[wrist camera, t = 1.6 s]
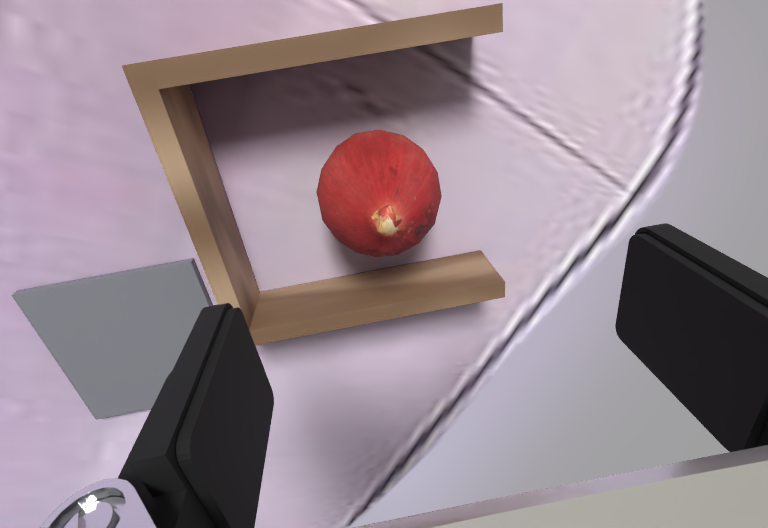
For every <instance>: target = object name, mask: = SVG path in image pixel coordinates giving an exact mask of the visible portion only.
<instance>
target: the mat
mask: <svg viewBox="0 0 768 528" xmlns="http://www.w3.org/2000/svg"><path fill="white" fill-rule="evenodd" d="M12 297H13V298H14V300H15V301H16V303H17V304H18V306H19V307H20V308H21V310H22V311H23V313H24V314H25V316H26V317H27V319H28V320H29V322H30V323H31V325H32V326H33V328H34V329H35V331H36V332H37V334H38V335H39V336H40V338H41V339H42V341H43V342H44V344H45V345H46V347H47V348H48V350H49V351H50V353H51V354H52V356H53V357H54V359H55V360H56V362H57V363H58V364H59V366H60V367H61V369H62V370H63V372H64V373H65V375H66V376H67V378H68V379H69V381H70V382H71V384H72V385H73V387H74V388H75V390H76V391H77V392H78V394H79V395H80V397H81V398H82V400H83V401H84V403H85V404H86V406H87V407H88V409H89V410H90V412H91V413H92V415H93V416H94V418H95V419H96V420H97V419H102V418H107V417H112V416H117V415H122V414H127V413H132V412H137V411H142V410H147V409H152V407H153V405H154V403H155V401H156V399H157V397H158V395H159V393H160V391H161V389H162V387H163V384H164V382H165V380H166V378H167V377H168V375H169V374H170V372H172V370H173V368H174V366H175V364H176V362H177V360H178V358H179V355H180V353H181V351H182V349H183V347H184V345H185V343H186V341H187V339H188V337H189V335H190V333H191V331H192V328H193V326H194V324H195V322H196V320H197V318H198V316H199V314H200V312H201V310H202V309H203V308H204V307H208V306H213V305H212V303H211V300H210V298H209V295H208V293H207V290H206V288H205V286H204V283H203V281H202V278H201V276H200V273H199V271H198V269H197V266H196V264H195V261H194V259H193V258H192V259H187V260H182V261H176V262H171V263H165V264H160V265H154V266H149V267H144V268H138V269H133V270H127V271H122V272H116V273H111V274H106V275H100V276H95V277H89V278H84V279H78V280H73V281H67V282H62V283H57V284H51V285H46V286H40V287H35V288H29V289H24V290H19V291H16V292H15V293H14V294H13V295H12Z"/></svg>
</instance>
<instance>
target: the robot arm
mask: <svg viewBox="0 0 768 528" xmlns="http://www.w3.org/2000/svg"><path fill="white" fill-rule="evenodd" d="M616 332H617V335H618V336H619V338H620V339H621V340H622V342H623V343H624V344H625V345H627V347H628V348H629V349H630V350H631V351H632V352H633V353H634V354H635V355H636V356H637V357H638V358H639V359H640V360H641V361H642V362H643V363H644V364H645V365H646V367H648V368H649V370H650V371H651V372H652V373H653V374H654V375H655V376H656V377H657V378H658V379H659V380H660V381H661V382H662V383H663V384H664V385H665V386H666V387H667V388H668V389H669V390H670V391H671V392H672V394H673V395H675V397H676V398H677V399H678V400H679V401H680V402H681V403H682V404H683V405H684V406H685V407H686V408H687V409H688V410H689V411H690V412H691V413H692V414H693V415H694V416H695V417H696V418H697V419H698V420H699V422H701V424H702V425H703V426H704V427H705V428H706V429H707V430H708V431H709V432H710V433H711V434H712V435H713V436H714V437H715V438H716V439H717V440H718V441H719V442H720V443H721V444H722V445H723V446H724V447H725V448H726V449H727V450H728V451H730V452H729V453H724V454H720V455H714V456H709V457H703V458H698V459H693V460H688V461H683V462H678V463H672V464H667V465H662V466H657V467H652V468H647V469H642V470H637V471H632V472H627V473H622V474H617V475H611V476H606V477H602V478H597V479H591V480H587V481H581V482H576V483H571V484H566V485H561V486H556V487H551V488H546V489H541V490H536V491H532V492H526V493H521V494H516V495H511V496H507V497H501V498H496V499H491V500H486V501H481V502H476V503H472V504H467V505H462V506H457V507H452V508H447V509H442V510H437V511H432V512H428V513H423V514H418V515H414V516H408V517H403V518H398V519H393V520H389V521H384V522H379V523H374V524H370V525H364V526H360V527H355V528H768V278H767V277H765V276H763V275H762V274H760V273H758V272H756V271H754V270H752V269H751V268H749V267H747V266H745V265H743V264H741V263H740V262H738V261H736V260H734V259H732V258H730V257H728V256H726V255H725V254H723V253H721V252H719V251H717V250H716V249H714V248H712V247H710V246H708V245H707V244H705V243H703V242H701V241H699V240H697V239H696V238H694V237H692V236H690V235H688V234H686V233H684V232H682V231H681V230H679V229H677V228H675V227H673V226H672V225H669V224H659V225H654V226H648V227H643V228H640V229H638V230H637V232H636V233H635V235H633V236H632V237H631V238H630V240H629V245H628V251H627V258H626V263H625V269H624V276H623V282H622V288H621V294H620V300H619V307H618V313H617V319H616ZM273 406H274V398H273V392H272V388H271V386H270V383H269V381H268V378H267V375H266V373H265V370H264V367H263V365H262V362H261V360H260V357H259V354H258V352H257V349H256V347H255V344H254V341H253V339H252V336H251V333H250V331H249V328H248V326H247V323H246V320H245V318H244V315H243V313H242V310H241V309H240V308H239V307H237V308H233V306H232V305H231V304H230V303H225V304H219V305H214V306H208V307H204V308H203V309H202V310H201V312H200V314H199V316H198V318H197V320H196V322H195V324H194V326H193V328H192V331H191V333H190V335H189V337H188V339H187V341H186V343H185V345H184V347H183V349H182V351H181V353H180V355H179V358H178V360H177V362H176V364H175V366H174V368H173V370H172V372H170V374H169V375H168V377H167V378H166V380H165V382H164V384H163V387H162V389H161V391H160V393H159V395H158V397H157V399H156V401H155V403H154V405H153V407H152V409H151V411H150V413H149V415H148V417H147V419H146V421H145V423H144V425H143V428H142V430H141V432H140V434H139V436H138V438H137V440H136V442H135V444H134V446H133V448H132V450H131V452H130V454H129V456H128V458H127V460H126V462H125V464H124V467H123V469H122V471H121V473H120V475H119V477H118V478H114V479H106V480H102V481H99V482H96V483H94V484H91V485H89V486H87V487H85V488H83V489H82V490H80V491H78V492H76V493H75V494H73V495H72V496H71V497H69V498H68V499H67V500H66V501H64V502H63V503H62V504H61V505H59V506H58V507H57V508H56V509H55V510H54V511H53V512H52V514H51V515H50V516H49V517H48V518H47V519H46V520H45V521H44V523H43V524H42V526H41V527H40V528H254V526H255V520H256V513H257V507H258V501H259V494H260V488H261V482H262V475H263V469H264V463H265V456H266V450H267V444H268V437H269V431H270V425H271V419H272V412H273Z"/></svg>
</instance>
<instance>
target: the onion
mask: <svg viewBox="0 0 768 528" xmlns="http://www.w3.org/2000/svg"><path fill="white" fill-rule="evenodd" d="M317 196H318V201H319V206H320V210H321V215H322V220H323V221H324V223H325V224H326V225H327V227H328V228H329V229H330V231H331V232H332V233H333V235H334V236H335V237H336V239H337V240H338V241H339V242H341V243H343V244H344V245H346V246H347V247H349V248H351V249H352V250H354V251H355V252H357V253H361V254H366V255H371V256H375V257H380V256H389V255H398V254H400V253H402V252H404V251H405V250H407V249H409V248H411V247H412V246H414V245H416V244H418V243H419V242H420V241H421V240H422V238H423V237H424V236H425V235H426V234H427V232H428V231H429V230H430V229H431V228H432V226H433V225H434V224H435V220H436V216H437V212H438V208H439V204H440V200H441V190H440V184H439V178H438V172H437V171H436V169H435V167H434V166H433V164H432V163H431V161H430V159H429V158H428V156H427V154H426V153H425V151H424V150H423V149H422V148H421V147H419V146H418V145H416V144H415V143H414V142H412V141H411V140H409V139H408V138H407V137H405V136H403V135H399V134H395V133H391V132H387V131H383V130H374V131H368V132H362V133H356V134H354V135H353V136H351V137H350V138H348V139H347V140H345V141H344V142H342V143H341V144H339V145H338V146H337V147H336V148H335V150H334V151H333V153H332V154H331V156H330V157H329V159H328V160H327V162H326V163H325V165H324V166H323V168H322V170H321V174H320V179H319V183H318V188H317Z"/></svg>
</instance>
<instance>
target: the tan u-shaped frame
mask: <svg viewBox="0 0 768 528" xmlns="http://www.w3.org/2000/svg"><path fill="white" fill-rule="evenodd" d="M498 32H503V16H502V3H501V4H495V5H489V6H482V7H476V8H470V9H464V10H458V11H452V12H446V13H440V14H434V15H428V16H422V17H415V18H409V19H403V20H397V21H391V22H385V23H379V24H373V25H367V26H361V27H354V28H348V29H342V30H336V31H330V32H324V33H318V34H312V35H306V36H300V37H293V38H287V39H281V40H275V41H269V42H263V43H257V44H251V45H245V46H239V47H232V48H226V49H220V50H214V51H208V52H202V53H196V54H190V55H184V56H178V57H171V58H165V59H159V60H153V61H147V62H141V63H135V64H129V65H123V66H122V68H123V70H124V73H125V75H126V78H127V80H128V83H129V85H130V88H131V90H132V92H133V95H134V97H135V100H136V102H137V105H138V107H139V110H140V112H141V115H142V117H143V120H144V122H145V125H146V127H147V130H148V132H149V135H150V137H151V140H152V142H153V145H154V147H155V150H156V152H157V154H158V157H159V159H160V162H161V164H162V167H163V169H164V172H165V174H166V177H167V179H168V182H169V184H170V187H171V189H172V192H173V194H174V197H175V199H176V202H177V204H178V207H179V209H180V212H181V214H182V216H183V219H184V221H185V224H186V226H187V229H188V231H189V234H190V236H191V239H192V241H193V244H194V246H195V249H196V251H197V254H198V256H199V259H200V261H201V264H202V266H203V269H204V271H205V274H206V276H207V278H208V281H209V283H210V286H211V288H212V291H213V293H214V296H215V298H216V301H217V303H218V305H219V304H225V303H230V304H231V305H232V306H233V308H237V307H239V308H240V309H241V310H242V313H243V315H244V318H245V320H246V323H247V326H248V328H249V331H250V333H251V336H252V339H253V341H254V344H255V345H260V344H265V343H270V342H276V341H281V340H286V339H291V338H296V337H301V336H307V335H312V334H317V333H322V332H327V331H332V330H337V329H343V328H348V327H353V326H358V325H363V324H368V323H374V322H379V321H384V320H389V319H394V318H399V317H405V316H410V315H415V314H420V313H425V312H430V311H435V310H441V309H446V308H451V307H456V306H461V305H466V304H472V303H477V302H482V301H487V300H492V299H497V298H503V297H505V281H504V280H503V279H502V277H501V276H500V275H499V274H498V272H497V271H496V270H495V268H494V267H493V266H492V264H491V263H490V262H489V261H488V259H487V258H486V257H485V255H484V254H483V253H482V251H481V250H480V251H475V252H469V253H464V254H459V255H454V256H448V257H443V258H438V259H432V260H427V261H422V262H416V263H411V264H406V265H401V266H395V267H390V268H385V269H379V270H374V271H369V272H363V273H358V274H353V275H348V276H342V277H337V278H332V279H326V280H321V281H316V282H310V283H305V284H300V285H295V286H289V287H284V288H279V289H273V290H268V291H263V292H259V289H258V286H257V283H256V280H255V277H254V274H253V271H252V268H251V265H250V262H249V259H248V256H247V254H246V251H245V248H244V245H243V242H242V239H241V236H240V233H239V230H238V227H237V224H236V221H235V218H234V215H233V212H232V209H231V206H230V204H229V201H228V198H227V195H226V192H225V189H224V186H223V183H222V180H221V177H220V174H219V171H218V168H217V165H216V162H215V159H214V157H213V154H212V151H211V148H210V145H209V142H208V139H207V136H206V133H205V130H204V127H203V124H202V121H201V118H200V115H199V112H198V109H197V107H196V104H195V101H194V98H193V95H192V92H191V89H190V86H189V84H193V83H199V82H205V81H211V80H217V79H223V78H229V77H235V76H241V75H247V74H253V73H259V72H265V71H271V70H277V69H283V68H289V67H295V66H301V65H307V64H313V63H319V62H325V61H331V60H337V59H343V58H349V57H355V56H361V55H367V54H373V53H379V52H385V51H391V50H397V49H403V48H409V47H415V46H421V45H427V44H433V43H439V42H445V41H451V40H456V39H462V38H468V37H474V36H480V35H486V34H492V33H498Z"/></svg>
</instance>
